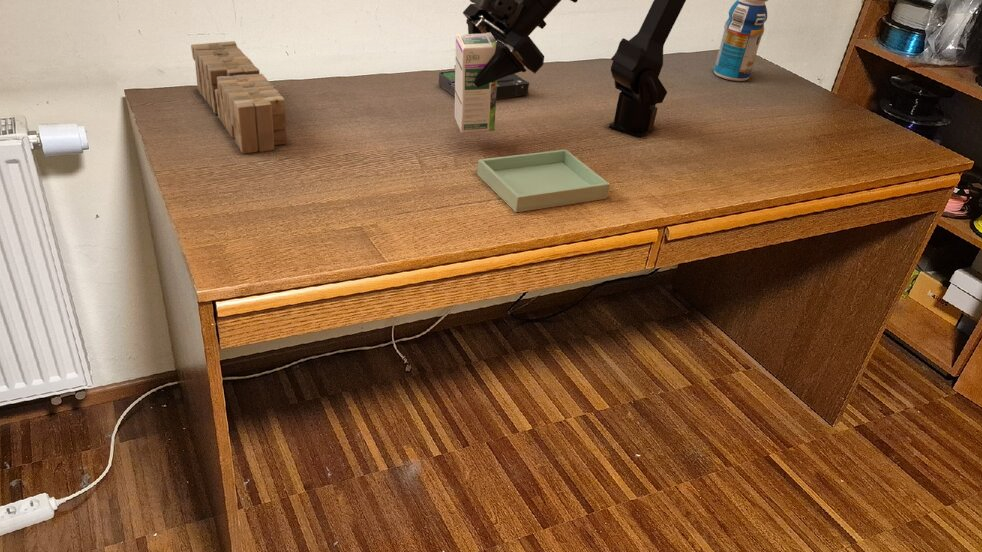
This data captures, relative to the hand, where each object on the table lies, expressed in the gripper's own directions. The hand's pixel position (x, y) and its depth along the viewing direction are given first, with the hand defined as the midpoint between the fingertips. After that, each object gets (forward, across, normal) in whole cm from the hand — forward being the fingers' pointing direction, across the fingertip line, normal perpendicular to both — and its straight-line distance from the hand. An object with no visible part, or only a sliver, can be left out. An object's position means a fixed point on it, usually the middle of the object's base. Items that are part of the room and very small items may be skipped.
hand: (465, 77), depth 127 cm
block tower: (+31, -20, -14) cm, 39 cm away
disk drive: (-2, -23, +20) cm, 31 cm away
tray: (+4, +17, +13) cm, 22 cm away
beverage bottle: (-46, -21, +64) cm, 81 cm away
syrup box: (+4, 0, +8) cm, 9 cm away
